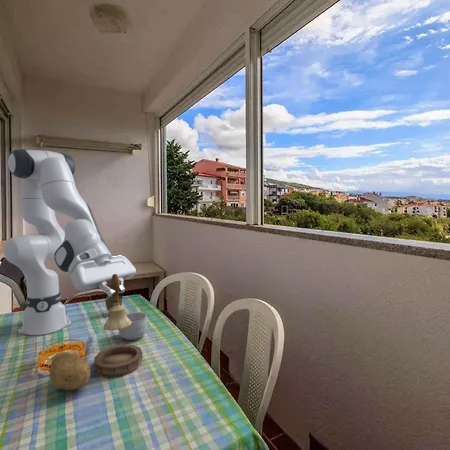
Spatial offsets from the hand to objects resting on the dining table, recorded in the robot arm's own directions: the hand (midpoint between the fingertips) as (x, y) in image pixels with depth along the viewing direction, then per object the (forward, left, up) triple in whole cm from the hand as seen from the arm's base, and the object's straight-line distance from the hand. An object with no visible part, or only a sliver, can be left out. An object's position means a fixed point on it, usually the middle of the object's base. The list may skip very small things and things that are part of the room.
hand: (117, 293), depth 92 cm
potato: (+6, -13, -23) cm, 27 cm away
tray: (0, 0, -23) cm, 23 cm away
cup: (-47, +3, -23) cm, 53 cm away
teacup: (-20, +8, -23) cm, 32 cm away
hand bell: (0, 0, -10) cm, 10 cm away
